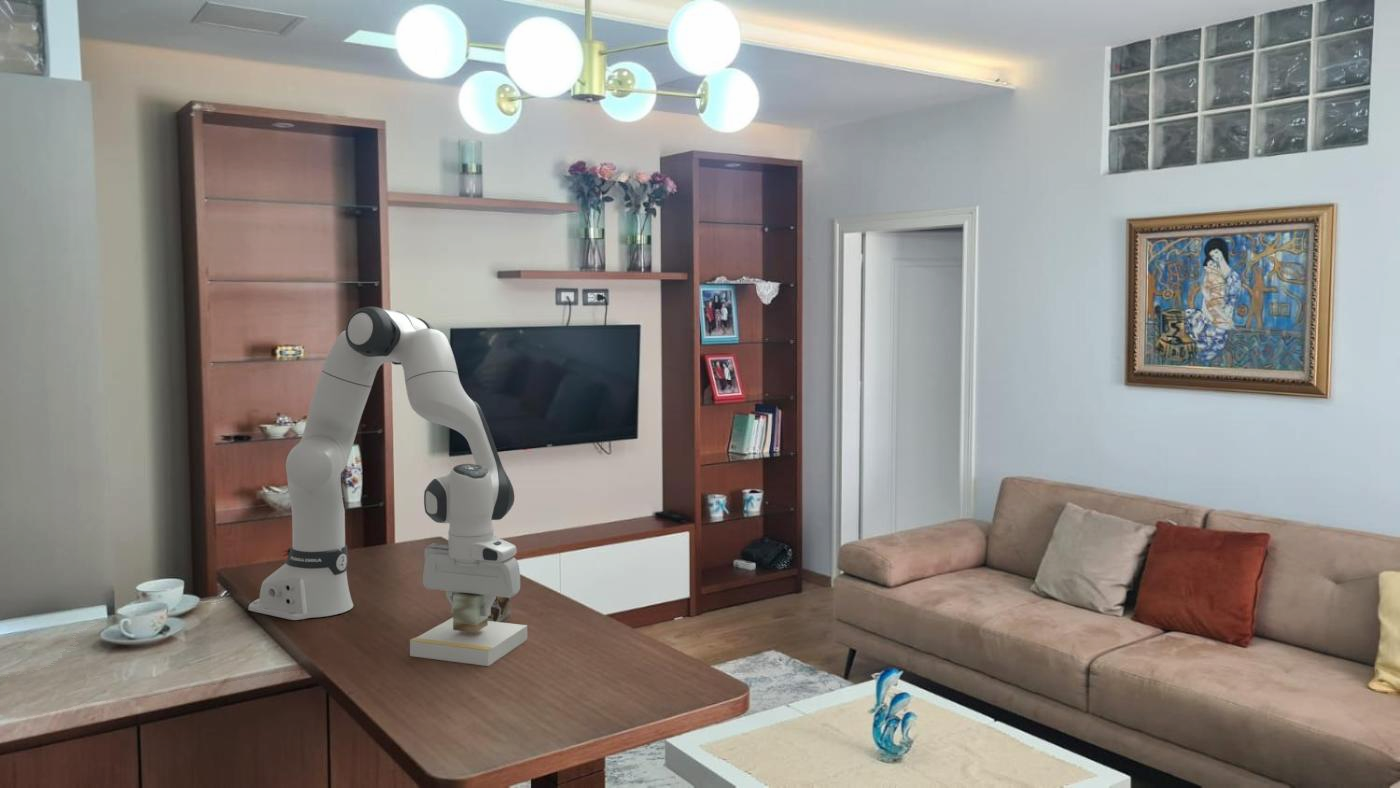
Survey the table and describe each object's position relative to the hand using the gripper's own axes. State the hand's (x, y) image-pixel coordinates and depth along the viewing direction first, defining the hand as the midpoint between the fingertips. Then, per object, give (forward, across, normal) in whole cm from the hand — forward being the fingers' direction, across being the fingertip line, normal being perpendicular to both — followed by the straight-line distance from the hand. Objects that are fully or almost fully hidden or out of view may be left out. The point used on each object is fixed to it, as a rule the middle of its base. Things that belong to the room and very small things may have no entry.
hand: (471, 614), depth 215 cm
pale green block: (+3, 0, 0) cm, 3 cm away
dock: (+7, 0, 0) cm, 7 cm away
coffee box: (+7, -5, +18) cm, 20 cm away
